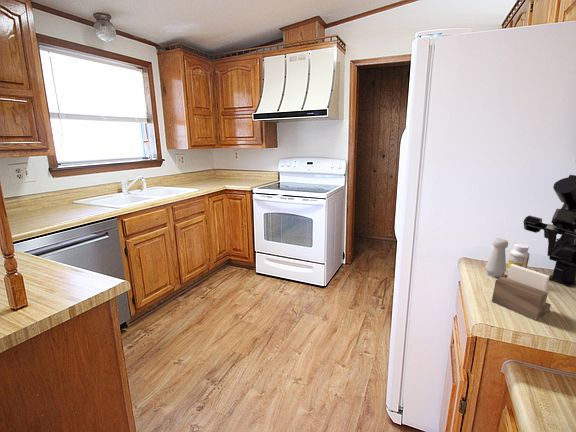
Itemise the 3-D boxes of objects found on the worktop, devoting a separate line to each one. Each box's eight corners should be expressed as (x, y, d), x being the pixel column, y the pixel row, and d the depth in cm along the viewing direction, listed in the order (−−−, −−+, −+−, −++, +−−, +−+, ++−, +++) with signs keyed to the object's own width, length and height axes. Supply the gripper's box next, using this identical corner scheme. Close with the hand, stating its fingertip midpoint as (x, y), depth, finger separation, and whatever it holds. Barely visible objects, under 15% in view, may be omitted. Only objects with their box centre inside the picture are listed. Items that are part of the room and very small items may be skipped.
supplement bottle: (517, 267, 113) (523, 242, 110) (529, 274, 108) (535, 248, 105) (503, 268, 113) (508, 242, 110) (514, 274, 108) (520, 248, 105)
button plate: (508, 287, 93) (513, 263, 91) (544, 301, 86) (551, 275, 84) (504, 289, 92) (509, 265, 90) (540, 304, 85) (547, 277, 83)
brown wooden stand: (505, 293, 96) (510, 272, 94) (549, 310, 87) (555, 288, 85) (491, 301, 92) (495, 280, 90) (535, 320, 83) (541, 297, 81)
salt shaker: (507, 279, 104) (515, 243, 101) (488, 278, 105) (495, 242, 102) (499, 272, 110) (506, 237, 106) (481, 270, 111) (488, 236, 107)
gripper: (534, 190, 96) (510, 232, 94) (618, 207, 82) (593, 257, 80) (535, 209, 103) (513, 248, 101) (613, 227, 90) (589, 273, 88)
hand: (549, 255), depth 92 cm, fingers closed
